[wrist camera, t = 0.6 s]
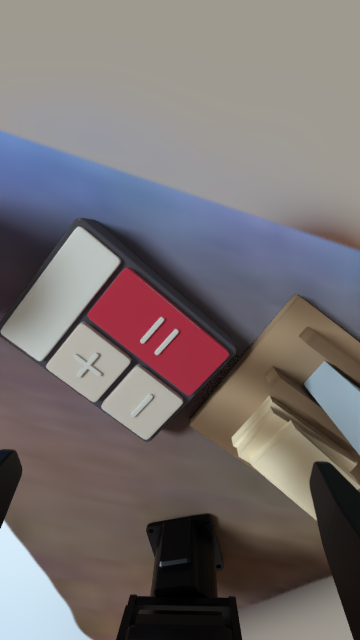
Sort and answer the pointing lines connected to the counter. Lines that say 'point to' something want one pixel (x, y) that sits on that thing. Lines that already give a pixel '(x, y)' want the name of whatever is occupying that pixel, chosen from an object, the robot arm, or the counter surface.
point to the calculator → (115, 331)
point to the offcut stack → (289, 451)
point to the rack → (282, 377)
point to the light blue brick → (338, 400)
